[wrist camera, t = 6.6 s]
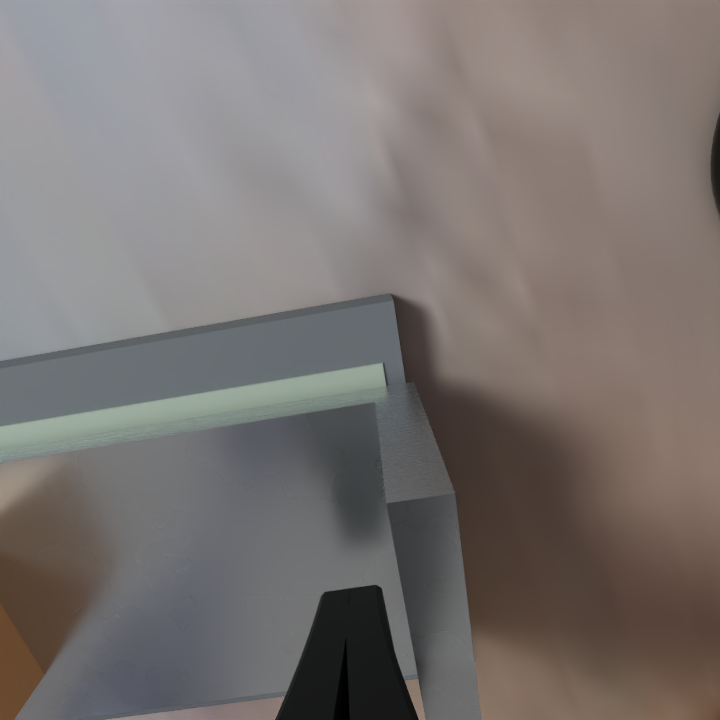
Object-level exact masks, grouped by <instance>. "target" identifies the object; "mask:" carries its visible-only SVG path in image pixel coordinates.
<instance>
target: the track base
mask: <svg viewBox="0 0 720 720" xmlns="http://www.w3.org/2000/svg"><path fill="white" fill-rule="evenodd" d="M403 383H406V382H405V375H404V368H403V362H402V355H401V348H400V341H399V334H398V328H397V321H396V314H395V307H394V300H393V298H392V296H391V294H384V295H379V296H373V297H367V298H362V299H356V300H350V301H344V302H339V303H333V304H327V305H321V306H316V307H310V308H304V309H298V310H293V311H287V312H281V313H275V314H270V315H264V316H258V317H253V318H247V319H241V320H235V321H230V322H224V323H218V324H212V325H207V326H201V327H195V328H189V329H184V330H178V331H172V332H166V333H161V334H155V335H149V336H144V337H138V338H132V339H126V340H121V341H115V342H109V343H103V344H98V345H92V346H86V347H80V348H75V349H69V350H63V351H57V352H52V353H46V354H40V355H35V356H29V357H23V358H17V359H12V360H6V361H0V449H6V448H12V447H18V446H25V445H31V444H37V443H43V442H49V441H55V440H61V439H67V438H73V437H80V436H86V435H92V434H98V433H104V432H110V431H116V430H122V429H128V428H135V427H141V426H147V425H153V424H159V423H165V422H171V421H177V420H183V419H189V418H196V417H202V416H208V415H214V414H220V413H226V412H232V411H238V410H244V409H251V408H257V407H263V406H269V405H275V404H281V403H287V402H293V401H299V400H305V399H312V398H318V397H324V396H330V395H336V394H342V393H348V392H354V391H360V390H367V389H373V388H379V387H385V386H391V385H397V384H403ZM403 678H404V681H405V680H412V679H418V674H415V675H407V676H403ZM286 693H287V691H284V692H277V693H269V694H261V695H254V696H246V697H238V698H231V699H223V700H215V701H208V702H200V703H192V704H185V705H177V706H169V707H162V708H154V709H146V710H139V711H131V712H123V713H116V714H108V715H100V716H92V717H85V718H77V719H69V720H104V719H112V718H120V717H127V716H135V715H143V714H150V713H158V712H166V711H174V710H181V709H189V708H197V707H204V706H212V705H220V704H227V703H235V702H243V701H251V700H258V699H266V698H274V697H281V696H286Z"/></svg>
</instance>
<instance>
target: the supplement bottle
mask: <svg viewBox="0 0 720 720" xmlns="http://www.w3.org/2000/svg"><path fill="white" fill-rule="evenodd" d="M711 181H712V188H713V193H714V197H715V201H716V205H717V208H718V210H719V213H720V113H719V116H718V120H717V124H716V128H715V132H714V137H713V143H712V151H711Z"/></svg>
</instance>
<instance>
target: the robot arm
mask: <svg viewBox="0 0 720 720" xmlns="http://www.w3.org/2000/svg"><path fill="white" fill-rule="evenodd" d="M275 720H419V719H418V716H417V714H416V711H415V708H414V706H413V703H412V701H411V698H410V695H409V692H408V689H407V686H406V684H405V681H404V678H403V675H402V672H401V669H400V666H399V664H398V660H397V657H396V654H395V651H394V645H393V640H392V635H391V631H390V626H389V621H388V616H387V611H386V606H385V601H384V596H383V591H382V588H381V587H379V586H378V585H370V586H362V587H355V588H348V589H341V590H334V591H327V592H324V593H323V594H322V596H321V597H320V601H319V604H318V608H317V611H316V614H315V617H314V621H313V624H312V627H311V630H310V633H309V635H308V638H307V641H306V644H305V647H304V649H303V652H302V655H301V658H300V660H299V663H298V666H297V668H296V671H295V673H294V676H293V678H292V681H291V683H290V686H289V688H288V691H287V693H286V696H285V698H284V701H283V703H282V705H281V708H280V710H279V713H278V715H277V717H276V719H275Z"/></svg>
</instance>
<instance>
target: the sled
mask: <svg viewBox="0 0 720 720" xmlns="http://www.w3.org/2000/svg"><path fill="white" fill-rule="evenodd" d="M370 585H378V586H379V587H381V588H382V591H383V596H384V601H385V606H386V611H387V616H388V621H389V626H390V631H391V635H392V640H393V645H394V651H395V654H396V657H397V660H398V664H399V666H400V669H401V672H402V675H403V676H407V675H415V674H418V679H419V685H420V690H421V696H422V701H423V707H424V712H425V718H426V720H481V713H480V704H479V695H478V687H477V678H476V669H475V661H474V652H473V643H472V635H471V626H470V617H469V609H468V600H467V592H466V583H465V574H464V566H463V557H462V548H461V540H460V531H459V522H458V514H457V505H456V496H455V491H454V489H453V486H452V483H451V481H450V478H449V475H448V472H447V470H446V467H445V464H444V462H443V459H442V456H441V453H440V451H439V448H438V445H437V443H436V440H435V437H434V434H433V432H432V429H431V426H430V424H429V421H428V418H427V415H426V413H425V410H424V407H423V405H422V402H421V399H420V397H419V394H418V391H417V388H416V386H415V383H414V382H409V383H403V384H397V385H391V386H385V387H379V388H373V389H367V390H360V391H354V392H348V393H342V394H336V395H330V396H324V397H318V398H312V399H305V400H299V401H293V402H287V403H281V404H275V405H269V406H263V407H257V408H251V409H244V410H238V411H232V412H226V413H220V414H214V415H208V416H202V417H196V418H189V419H183V420H177V421H171V422H165V423H159V424H153V425H147V426H141V427H135V428H128V429H122V430H116V431H110V432H104V433H98V434H92V435H86V436H80V437H73V438H67V439H61V440H55V441H49V442H43V443H37V444H31V445H25V446H18V447H12V448H6V449H0V603H1V605H2V606H3V608H4V610H5V611H6V613H7V614H8V616H9V618H10V619H11V621H12V623H13V624H14V626H15V628H16V629H17V631H18V632H19V634H20V636H21V637H22V639H23V641H24V642H25V644H26V645H27V647H28V649H29V650H30V652H31V654H32V655H33V657H34V658H35V660H36V662H37V663H38V665H39V667H40V668H41V670H42V671H43V673H44V675H45V676H44V677H43V678H42V680H41V681H40V683H39V684H38V686H37V687H36V689H35V690H34V692H33V693H32V694H31V696H30V697H29V699H28V700H27V702H26V703H25V705H24V706H23V707H22V709H21V710H20V712H19V713H18V715H17V716H16V718H15V719H14V720H69V719H77V718H85V717H92V716H100V715H108V714H116V713H123V712H131V711H139V710H146V709H154V708H162V707H169V706H177V705H185V704H192V703H200V702H208V701H215V700H223V699H231V698H238V697H246V696H254V695H261V694H269V693H277V692H284V691H288V688H289V686H290V683H291V681H292V678H293V676H294V673H295V671H296V668H297V666H298V663H299V660H300V658H301V655H302V652H303V649H304V647H305V644H306V641H307V638H308V635H309V633H310V630H311V627H312V624H313V621H314V617H315V614H316V611H317V608H318V604H319V601H320V597H321V596H322V594H323V593H324V592H327V591H334V590H341V589H348V588H355V587H362V586H370Z"/></svg>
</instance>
